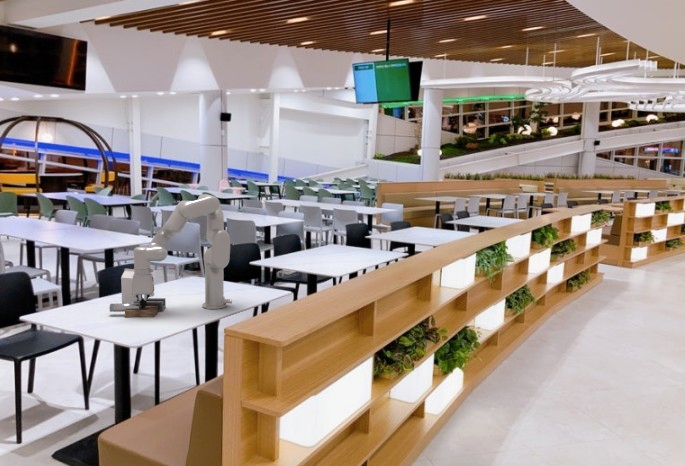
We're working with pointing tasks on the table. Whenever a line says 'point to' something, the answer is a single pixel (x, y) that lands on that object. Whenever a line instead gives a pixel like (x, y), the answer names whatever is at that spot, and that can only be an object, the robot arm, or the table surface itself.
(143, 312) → the brown piece
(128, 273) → the milk carton
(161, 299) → the v block
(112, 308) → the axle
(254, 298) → the table surface
